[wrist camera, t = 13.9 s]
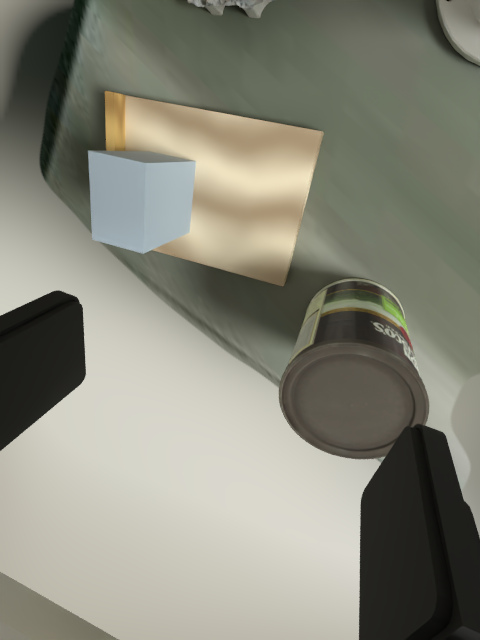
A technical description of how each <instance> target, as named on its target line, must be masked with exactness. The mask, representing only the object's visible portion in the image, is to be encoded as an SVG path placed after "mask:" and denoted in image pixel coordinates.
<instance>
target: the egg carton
mask: <svg viewBox="0 0 480 640" xmlns="http://www.w3.org/2000/svg"><path fill="white" fill-rule="evenodd" d="M187 1H188V4H189V3H192V4H195V5H196V6H198V7H205V8H207V9H208V11H210V13H211V14H212V15H222V14H223V10H224V8H225V5H227V6H232V5H238V6H239V7H241V8H243V9H244V10H245V12H246V13H247V15H248V16H249V17H250V18H260V16H261V13H262V11H263V9H264V8H265V6H266V5H267V4H268V3H269V2H271V1H274V0H187Z"/></svg>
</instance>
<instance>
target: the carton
mask: <svg viewBox="0 0 480 640" xmlns="http://www.w3.org/2000/svg"><path fill="white" fill-rule="evenodd" d="M88 159H89V180H90V201H91V221H92V239H93V240H96V241H100V242H103V243H107V244H111V245H114V246H118V247H121V248H125V249H128V250H132V251H135V252H139V253H143V254H144V253H146V252H148V251H150V250H152V249H155V248H157V247H159V246H161V245H163V244H166V243H168V242H170V241H172V240H174V239H177V238H179V237H181V236H183V235H185V234H188V233H190V222H191V211H192V200H193V190H194V179H195V168H196V161H192V160H188V159H183V158H178V157H174V156H169V155H164V154H160V153H155V152H149V151H95V150H88Z"/></svg>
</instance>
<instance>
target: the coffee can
mask: <svg viewBox="0 0 480 640" xmlns="http://www.w3.org/2000/svg"><path fill="white" fill-rule="evenodd" d="M279 402H280V407H281V410H282V412H283V415H284V417H285V419H286V420H287V422H288V424H289V425H290V426H291V428H292V429H293V430H294V431H295V432H296V433H297V434H298V435H299V436H300V437H301V438H302V439H304V440H305V441H306V442H308V443H309V444H311V445H312V446H314V447H316V448H318V449H320V450H322V451H324V452H327V453H330V454H332V455H336V456H340V457H345V458H352V459H374V458H381V457H384V456H387V454H388V452H389V451H390V449H391V448H392V446H393V445H394V443H395V442H396V440H397V439H398V437H399V436H400V434H401V432H402V431H403V429H404V428H405V427H406V426H410V427H413V426H414V425H416V424H422V425H424V426H425V424H426V422H427V419H428V415H429V399H428V395H427V392H426V389H425V386H424V384H423V382H422V379H421V377H420V374H419V370H418V366H417V362H416V359H415V356H414V352H413V348H412V345H411V341H410V337H409V334H408V330H407V326H406V322H405V316H404V311H403V308H402V306H401V304H400V302H399V300H398V299H397V298H396V296H395V295H394V294H393V293H392V292H391V291H389V290H388V289H387V288H385V287H384V286H382V285H380V284H378V283H376V282H373V281H370V280H366V279H358V278H352V279H343V280H340V281H336V282H334V283H331V284H329V285H327V286H325V287H324V288H322V289H321V290H320V291H319V292H318V293H317V294H316V295H315V296H314V297H313V299H312V300H311V302H310V304H309V306H308V308H307V311H306V315H305V319H304V322H303V324H302V327H301V330H300V333H299V336H298V339H297V341H296V344H295V347H294V350H293V353H292V356H291V358H290V361H289V364H288V366H287V368H286V370H285V372H284V374H283V376H282V379H281V382H280V387H279Z"/></svg>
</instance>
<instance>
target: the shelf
mask: <svg viewBox="0 0 480 640" xmlns="http://www.w3.org/2000/svg"><path fill="white" fill-rule="evenodd" d="M105 119H106V151H149V152H155V153H160V154H164V155H169V156H174V157H178V158H183V159H188V160H192V161H196V168H195V179H194V190H193V200H192V211H191V222H190V233H188V234H185V235H183V236H181V237H179V238H177V239H174V240H172V241H170V242H168V243H166V244H163V245H161V246H159V247H157V248H155V249H152V250H154V251H158V252H161V253H165V254H168V255H172V256H175V257H179V258H183V259H186V260H190V261H193V262H197V263H200V264H204V265H208V266H211V267H215V268H218V269H222V270H225V271H229V272H233V273H236V274H240V275H243V276H247V277H250V278H254V279H258V280H261V281H265V282H268V283H272V284H275V285H279V286H284V284H285V283H286V279H287V276H288V272H289V268H290V264H291V260H292V256H293V252H294V248H295V244H296V240H297V236H298V232H299V228H300V224H301V220H302V216H303V213H304V209H305V205H306V201H307V197H308V193H309V189H310V185H311V181H312V177H313V173H314V169H315V165H316V161H317V157H318V153H319V150H320V146H321V142H322V138H323V134H324V132H322V131H317V130H311V129H306V128H300V127H295V126H289V125H284V124H279V123H273V122H268V121H262V120H257V119H251V118H246V117H240V116H235V115H230V114H224V113H219V112H213V111H208V110H202V109H197V108H192V107H186V106H181V105H175V104H170V103H164V102H159V101H154V100H148V99H143V98H137V97H132V96H126V95H122V94H118V93H114V92H109V91H105Z"/></svg>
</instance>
